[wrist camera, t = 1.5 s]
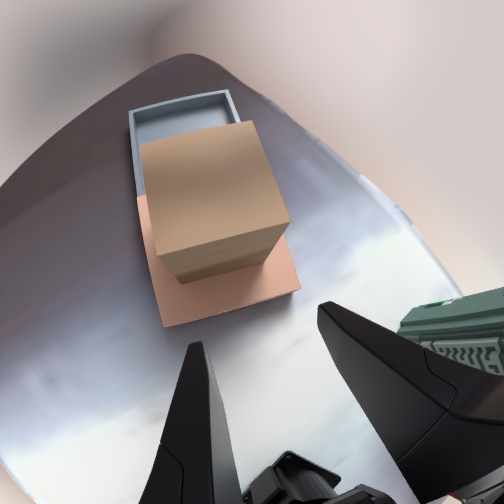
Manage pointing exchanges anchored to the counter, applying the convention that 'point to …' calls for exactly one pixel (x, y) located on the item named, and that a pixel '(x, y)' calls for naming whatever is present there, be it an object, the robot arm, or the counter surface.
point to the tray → (177, 122)
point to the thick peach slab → (216, 282)
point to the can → (462, 329)
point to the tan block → (212, 201)
